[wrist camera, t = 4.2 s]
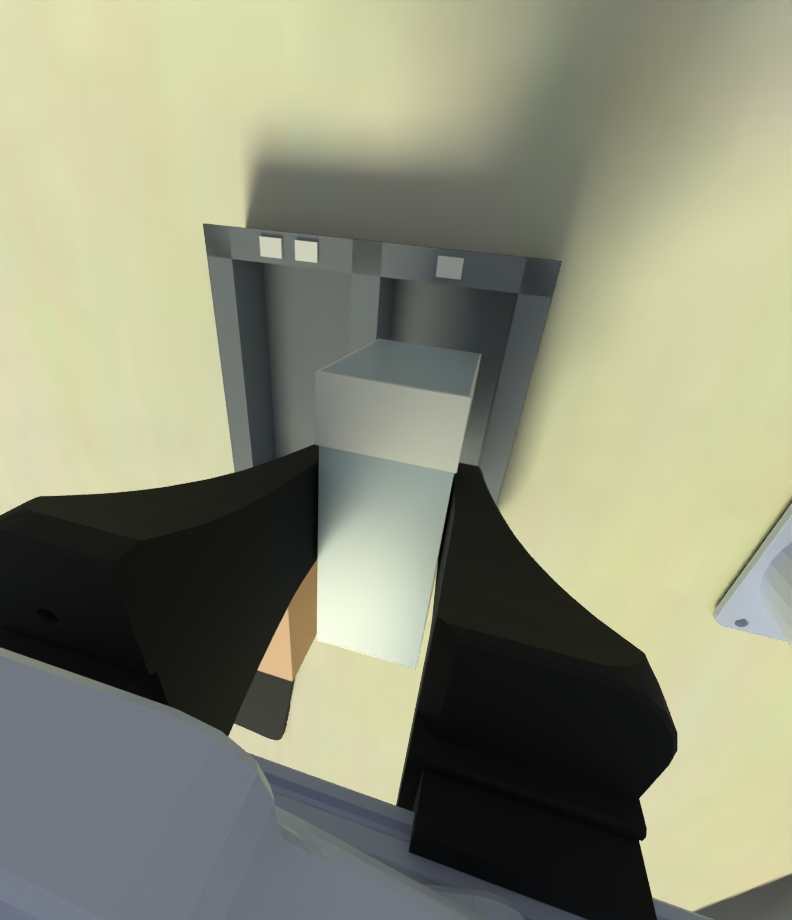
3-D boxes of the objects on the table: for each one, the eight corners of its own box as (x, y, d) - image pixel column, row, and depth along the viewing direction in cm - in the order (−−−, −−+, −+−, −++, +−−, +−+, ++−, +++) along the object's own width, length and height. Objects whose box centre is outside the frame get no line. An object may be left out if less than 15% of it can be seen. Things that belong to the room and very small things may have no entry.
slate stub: (481, 353, 11) (470, 397, 7) (439, 564, 15) (417, 673, 11) (379, 338, 12) (315, 371, 8) (362, 545, 15) (313, 642, 11)
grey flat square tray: (552, 260, 13) (562, 261, 11) (483, 529, 19) (480, 564, 17) (244, 228, 16) (201, 223, 13) (265, 479, 21) (237, 505, 19)
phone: (300, 644, 27) (281, 744, 35) (305, 634, 28) (285, 734, 35) (206, 606, 28) (207, 712, 35) (214, 597, 29) (213, 703, 36)
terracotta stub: (325, 522, 22) (286, 581, 18) (325, 617, 26) (292, 683, 22) (275, 510, 22) (226, 564, 18) (282, 605, 26) (242, 667, 22)
